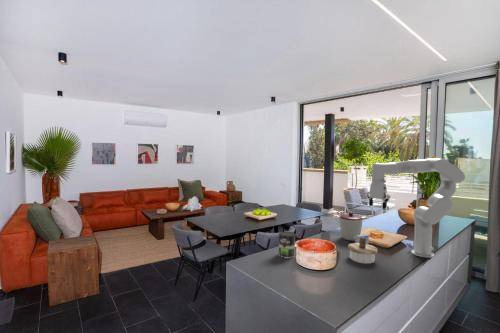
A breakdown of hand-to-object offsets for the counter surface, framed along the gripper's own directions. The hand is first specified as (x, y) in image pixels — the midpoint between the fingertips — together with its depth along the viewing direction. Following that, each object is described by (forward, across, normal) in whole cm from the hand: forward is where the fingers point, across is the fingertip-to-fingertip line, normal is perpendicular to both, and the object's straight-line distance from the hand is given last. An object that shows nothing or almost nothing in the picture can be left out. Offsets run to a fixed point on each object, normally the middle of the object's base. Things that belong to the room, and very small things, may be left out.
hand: (377, 206), depth 175 cm
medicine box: (+31, +10, +2) cm, 32 cm away
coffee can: (+31, +23, +58) cm, 69 cm away
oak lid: (+24, -4, +20) cm, 32 cm away
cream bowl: (+30, -4, +20) cm, 37 cm away
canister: (+31, +27, -7) cm, 41 cm away
